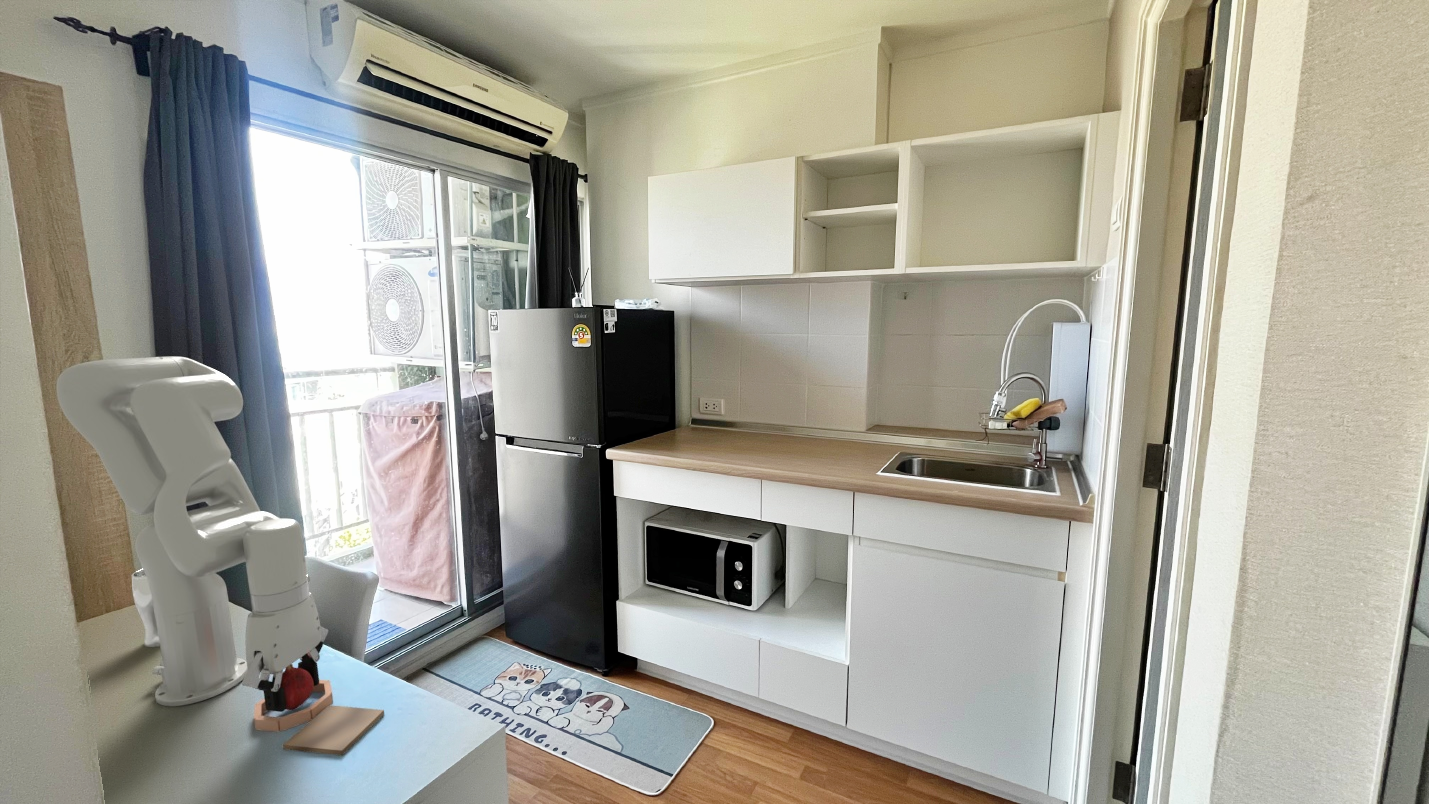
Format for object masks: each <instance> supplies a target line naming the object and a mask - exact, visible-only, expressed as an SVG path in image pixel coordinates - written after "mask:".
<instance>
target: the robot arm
mask: <svg viewBox="0 0 1429 804" xmlns="http://www.w3.org/2000/svg"><path fill="white" fill-rule="evenodd" d="M56 395H57V401H58V404H59V406H60V409H61V410H62V413H63V414H64V416H65V418H66V419H67V421H68V422H69V423H70V424H71V426H72V427H74V428H75V430H77V432H78V433H79V435H80V434H81V436H82V437H83V438H84V439H85V440H86V441H87V442H88V443H89V444H90V445H91V446H92V447H93V448H94V450H95V452H96V453H97V455H98V456H99V459H100V460H101V463H102V464H103V467H104V468H105V470H106V473H107V474H108V476H109V478H110V480H111V481H112V484H113V485H114V487H115V490H116V491H117V493H118V495H119V497H120V498H121V500H122V501H123V503H124V504H125V506H126V507H127V508H128V510H129V511H131V512H132V513H134V514H136V515H139V516H149V515H153V522H152V523H150V524H149V525H147V526H145V527H144V528H143V529H142V530H141V531H139V533H138V534H137V536H136V539H135V543H134V548H135V553H136V555H137V559H138V561H139V563H140V566H141V569H143V570H144V572H145V575H146V577H147V580H148V583H149V587H150V591H151V596H152V601H153V607H154V613H155V618H156V624H157V630H158V636H159V642H160V646H159V647H160V653H161V659H160V661H159V665H157V666H154V667H153V669H152V670H151V674H152V675H157V676H161V678H162V683H161V684H160V685H159V687H157V689H156V690H155V692H154V697H155V701H156V703H157V704H159V705H160V706H161V705H162V706H165V707H166V706H167V707H180V706H186V705H191V704H195V703H199V702H202V701H205V700H208V699H210V698H214V697H215V696H218V695H220V694H223V693H224V692H226V691H228V690H230V689H232V688H233V687H235V686H237V685H238V684H239V683H241V685H242V686H243V687H248V688H252V689H256V690H258V691H263V697H264V698H265V706H266V710H267V711H268V712H279V713H280V712H281V713H283V712H285V711H286V707H287V706H286V698H285V691H284V687H280V684H281V678H282V673H283V672H284V670H285V669H286V667H288V666H289V665H291V664H292V665H293V663H295V662H296V661H297V660H298V661H299V660H300V661H299V662H298V663H297V668H301V669H304V670H306V671H308V672H309V673H310V675H311V677H312V679H313V682H314V686H316V685H318V684H319V680H320V677H319V668H318V663H317V662H319V661H320V659H321V656H320V652H321V650H322V648H323V646H324V642H325V639H326V637H327V635H328V633H329V629H328V628H325V627H324V626H321V623H320V622H321V621H320V617H319V611H318V608H317V605H316V603H315V599H314V596H313V595H312V592H310V589H309V582H311V578H310V575H308V573H307V572H308V570H307V563H306V562H307V561H306V555H305V548H304V547H305V546H304V539H303V530H302V525H301V523H299V522H298V520H295V519H293V518H284V517H283V518H282V517H281V518H280V517H279V516H276V515H274V514H273V513H271V512H268V511H263V510H262V511H261V509H260V506H259V505H258V503H257V501H256V499H255V498H254V496H253V494H252V491H251V490H250V488H249V486H248V483H247V482H246V481H245V478H244V476H243V475H242V473H241V471H240V469H239V467H238V466H237V464H236V463H235V461H234V460H233V459H232V458H231V456H232V453H231V450H230V448H229V446H228V445H227V443H226V442H225V440H224V438H223V435H222V434H221V432H220V431H219V429H218V427H217V425H216V424H215V422H221V421H227V420H232V419H234V418H236V417H237V416H239V415H240V413H241V412H242V410H243V408H244V407H243V406H244V399H243V394H242V392H241V390H240V388H239V387H238V385H237V384H236V382H234V381H233V379H231V378H229V376H227V375H226V374H224V373H222V372H220V371H218V370H216V369H214V368H212V367H210V366H207V365H205V364H203V363H200V362H199V361H196V360H194V359H191V358H189V357H184V356H175V355H174V356H169V355H168V356H152V357H151V356H150V357H132V358H131V357H130V358H127V357H126V358H112V359H111V358H110V359H100V360H92V361H86V362H82V363H77V364H75V365H72V366H69V367H67V368H66V369H64V370H63V371H62V372H61V373H60V375H59V376H58V378H57V381H56ZM129 408H130V410H131V412H132V413H130V412H129V411H128V410H127V409H129ZM204 502H205V503H206V504H207V505H208V506H203V507H200V508H196V509H192V510H187V507H189V506H192V505H196V504H200V503H204ZM242 563H245V567H246V574H247V582H248V588H249V589H248V590H249V595H250V597H249V598H250V604H251V610H252V612H250V613H249V614H247V619H246V626H245V658H246V659H244V658H240V657H237V652H236V644H235V637H234V629H233V624H232V623H233V622H232V616H231V609H230V603H229V602H230V601H229V596H228V590H227V585H226V582H225V580H224V578H222V577H221V576H220V575H219V572H222V571H224V570H228V569H229V568H233V567H235V566H237V565H239V564H242ZM217 573H218V574H217ZM270 675H272V679H271V681H270V677H271V676H270ZM241 681H242V682H241ZM264 698H263V699H264Z"/></svg>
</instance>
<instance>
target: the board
mask: <svg viewBox="0 0 1429 804" xmlns="http://www.w3.org/2000/svg"><path fill="white" fill-rule="evenodd" d="M384 716H385V710H384V709H379V708H378V709H377V708H367V707H365V708H364V707H363V708H362V707H352V706H341V705H333V704H331V705H329V706H328V707H327V708H325V709H324V710H323V711H322V712H321V713H319V714H318V715H317V716H316V717H315V718H313V719H311V721H309V722H307V723H305V725H304V726H303V727H302V728H300V729H299V730H298V731H297V732H296V733H295V734H293V735H292V736H291V737H290V738H288V739H287V740H286V741H285V742H283V744H281V745H282V750H285V751H294V752H304V753H314V754H315V753H317V754H326V755H337V756H344V755H345V754H346V753H347V752H348V751H349V750H350V748H352V747H353V746H354V745H355V744H356V743H357V742H358V741H359V740H360V739H361V738H362V737H363V736H364V735H365V734H366V733H367V732H368V731H369V730H370V729H371V728H372V727H373V726H374V725H375V724H377V722H378V721H379V720H380V719H382V718H383V717H384Z"/></svg>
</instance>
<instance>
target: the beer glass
mask: <svg viewBox="0 0 1429 804" xmlns="http://www.w3.org/2000/svg"><path fill="white" fill-rule="evenodd" d="M131 583H132V584H131V587H132V596H133V601H134V604H135V607H136V609H137V612H138V614H139V616H140V618H141V621H142V623H143V628H144V630H145V631H144V633H145V635H144V647H147V648H159V647H160V642H159V636H158V630H157V624H156V618H155V613H154V607H153V601H152V596H151V591H150V587H149V583H148V580H147V577H146V575H145V572H144V570H143V568H141V569H139V570H136V571H135V572H133V573H132V574H131Z"/></svg>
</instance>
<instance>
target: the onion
mask: <svg viewBox="0 0 1429 804" xmlns="http://www.w3.org/2000/svg"><path fill="white" fill-rule="evenodd" d="M313 686H314V682H313V679H312V677H311V675H310V673H309V672H308V671H306V670H304V669H301V668H298V667H294V666H293V663H292V664H291V665H289V666H288V667H286V668H285V669H284V670H283V673H282V678H281V684H280V687H284V691H285V698H286V706H287V707H286V710H287V711H295V710H297V709H298V708H299V707H300V706H302V705H303V704H304V703H305V702H307V700H308V699H309V698H310V697H311V694H312V693H313V692H312V690H313ZM286 710H285V711H286Z"/></svg>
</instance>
